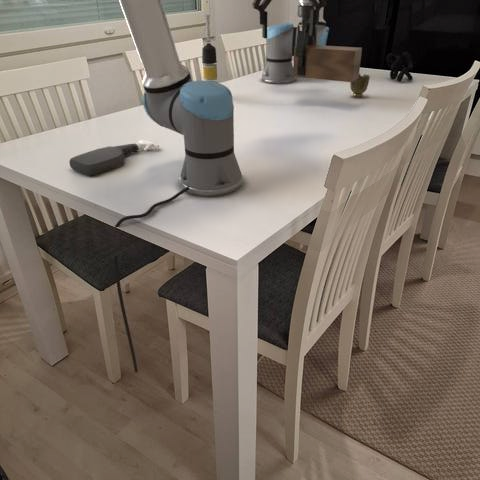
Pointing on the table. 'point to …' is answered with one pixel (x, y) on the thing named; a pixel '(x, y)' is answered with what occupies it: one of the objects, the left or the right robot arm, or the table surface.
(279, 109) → the table surface
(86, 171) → the spray bottle
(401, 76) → the squiggle
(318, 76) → the box
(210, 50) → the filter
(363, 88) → the cup
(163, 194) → the table surface
